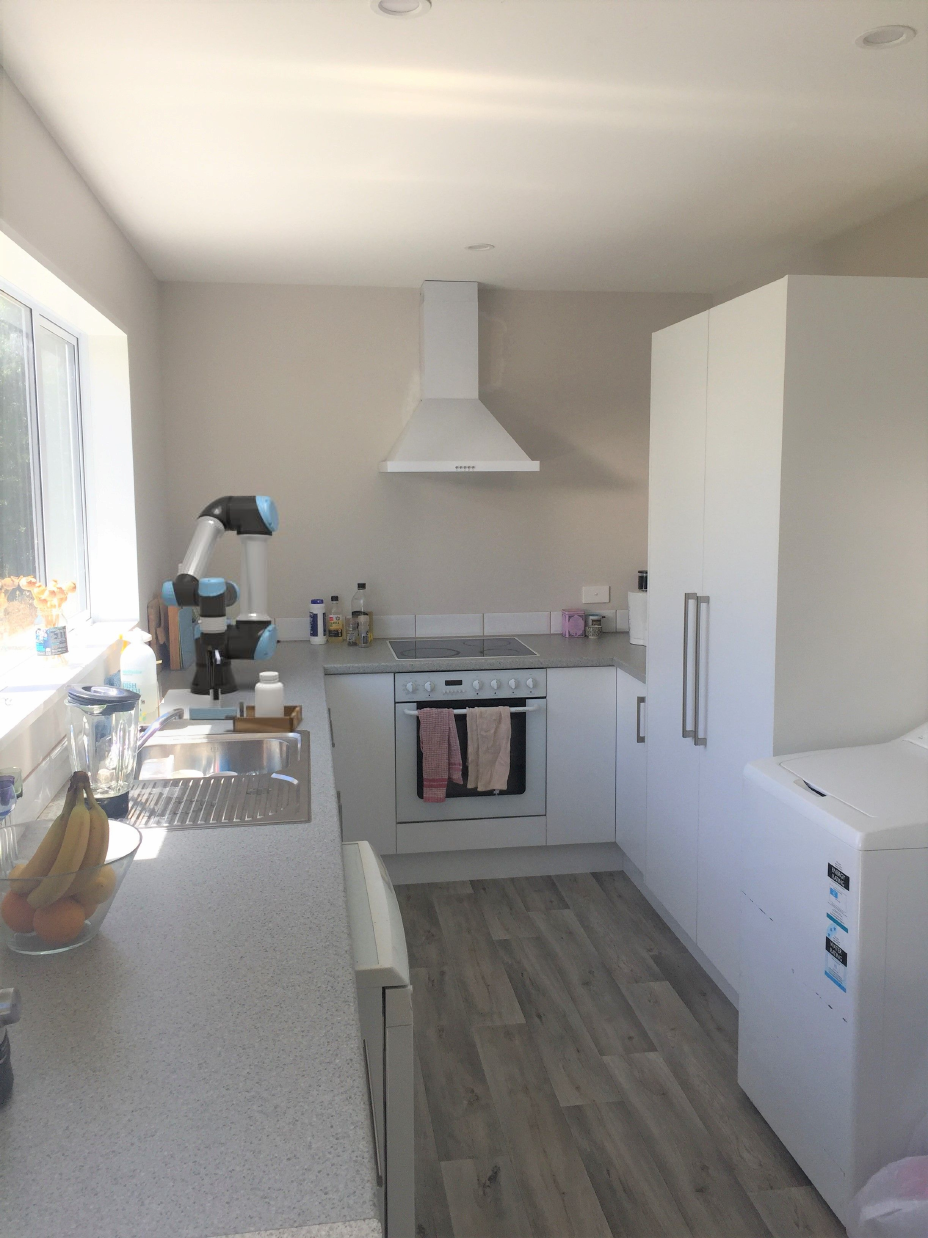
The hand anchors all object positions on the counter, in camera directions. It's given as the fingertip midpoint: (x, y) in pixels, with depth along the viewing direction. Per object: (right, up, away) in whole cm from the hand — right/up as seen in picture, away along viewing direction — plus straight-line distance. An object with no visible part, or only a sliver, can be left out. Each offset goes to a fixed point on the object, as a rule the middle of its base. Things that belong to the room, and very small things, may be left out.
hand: (215, 710), depth 281 cm
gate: (+1, -2, -5) cm, 5 cm away
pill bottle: (+18, -3, -12) cm, 22 cm away
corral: (+17, -3, -12) cm, 21 cm away
